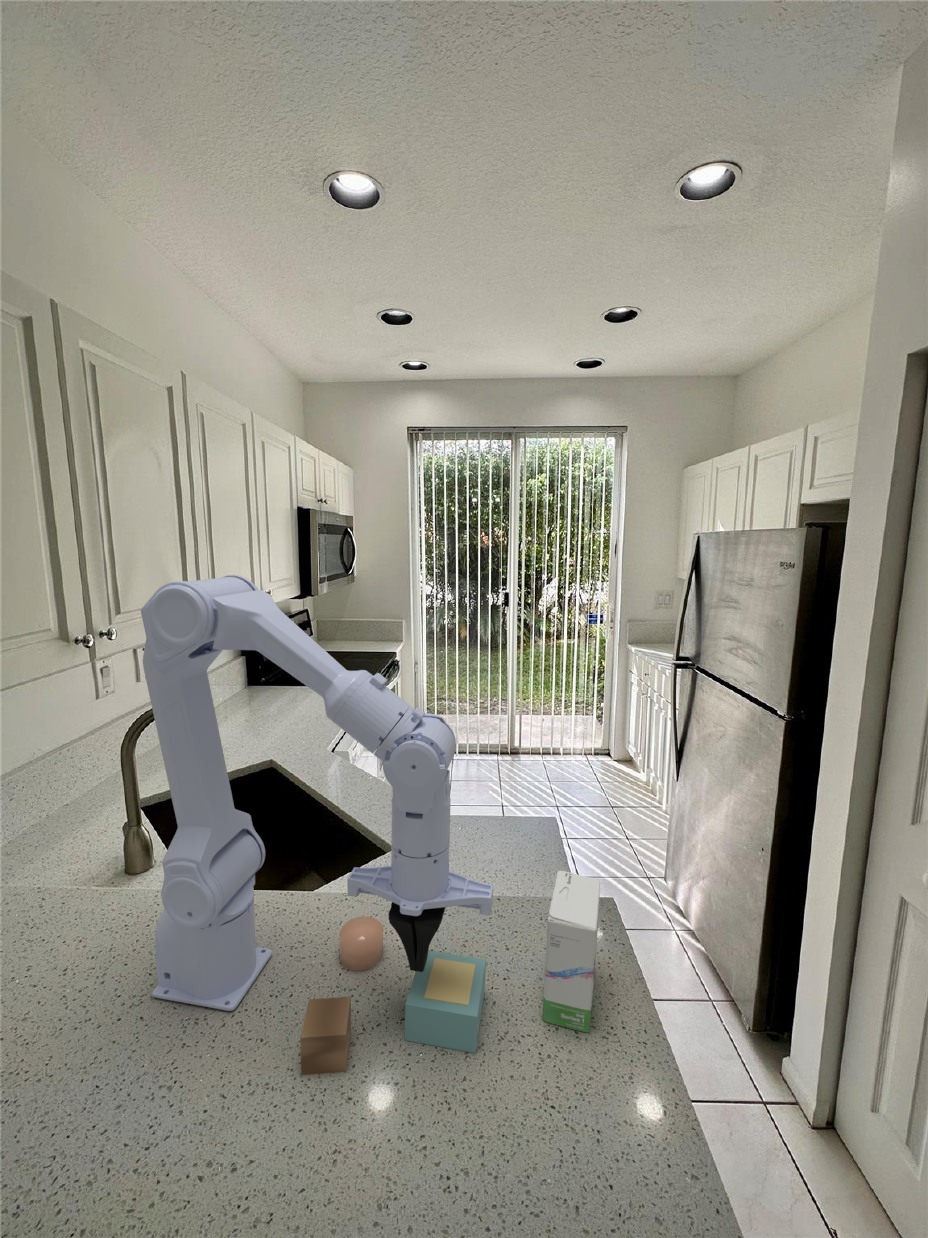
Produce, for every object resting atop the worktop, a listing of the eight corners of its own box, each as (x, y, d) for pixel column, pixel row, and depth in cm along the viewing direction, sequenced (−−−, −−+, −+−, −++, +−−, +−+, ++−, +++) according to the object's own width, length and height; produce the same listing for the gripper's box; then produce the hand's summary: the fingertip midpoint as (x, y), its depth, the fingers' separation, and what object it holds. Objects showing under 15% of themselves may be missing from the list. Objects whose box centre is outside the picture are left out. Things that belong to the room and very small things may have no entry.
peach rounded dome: (333, 968, 60) (333, 944, 59) (348, 936, 65) (348, 914, 64) (375, 974, 59) (376, 950, 59) (387, 941, 64) (388, 919, 64)
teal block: (405, 1003, 51) (477, 1016, 50) (422, 948, 58) (486, 958, 57) (404, 1041, 52) (475, 1054, 50) (421, 982, 58) (484, 993, 57)
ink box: (590, 1036, 53) (598, 930, 51) (540, 1021, 54) (546, 918, 52) (594, 970, 61) (601, 876, 59) (551, 959, 62) (556, 867, 60)
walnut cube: (301, 1076, 48) (300, 1038, 47) (309, 1035, 52) (308, 999, 51) (346, 1072, 48) (345, 1034, 48) (350, 1032, 52) (350, 997, 52)
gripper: (334, 856, 49) (336, 984, 51) (489, 875, 47) (484, 1009, 49) (361, 817, 56) (361, 931, 58) (497, 832, 54) (492, 951, 56)
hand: (418, 963), depth 54 cm, fingers closed
